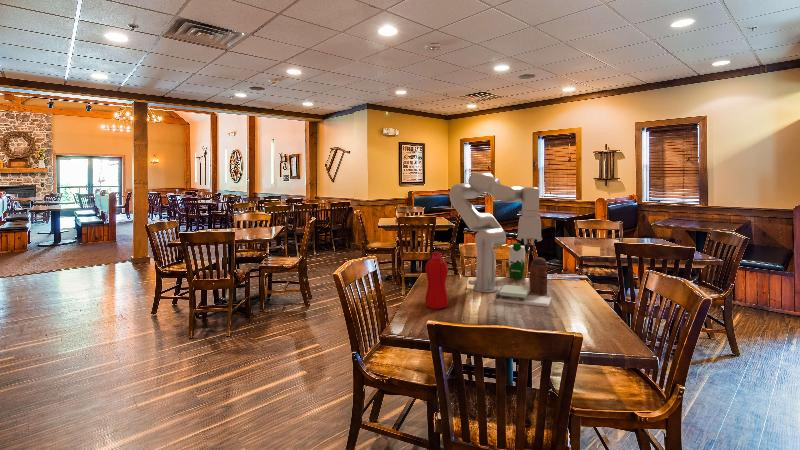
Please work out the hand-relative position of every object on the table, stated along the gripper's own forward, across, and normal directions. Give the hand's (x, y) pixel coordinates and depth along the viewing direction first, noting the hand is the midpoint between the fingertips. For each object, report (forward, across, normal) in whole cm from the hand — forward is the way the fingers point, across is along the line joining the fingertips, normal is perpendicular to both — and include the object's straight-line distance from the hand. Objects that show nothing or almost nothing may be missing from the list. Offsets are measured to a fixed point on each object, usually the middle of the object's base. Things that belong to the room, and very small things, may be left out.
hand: (529, 252), depth 208 cm
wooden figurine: (+23, +3, +17) cm, 29 cm away
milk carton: (+23, -13, +47) cm, 54 cm away
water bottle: (+23, -36, -26) cm, 50 cm away
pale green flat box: (+22, -6, 0) cm, 22 cm away
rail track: (+23, -2, 0) cm, 23 cm away
